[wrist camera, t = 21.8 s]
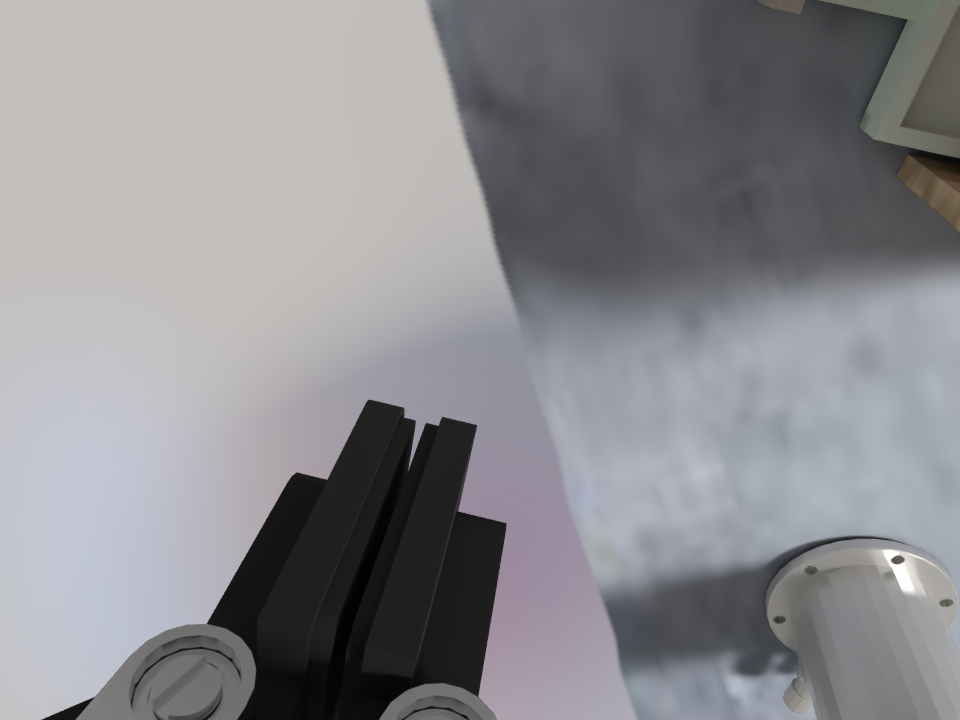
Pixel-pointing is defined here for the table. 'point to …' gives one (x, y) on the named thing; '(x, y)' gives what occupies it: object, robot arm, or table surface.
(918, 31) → the tray
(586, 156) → the table surface
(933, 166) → the open wooden crate
